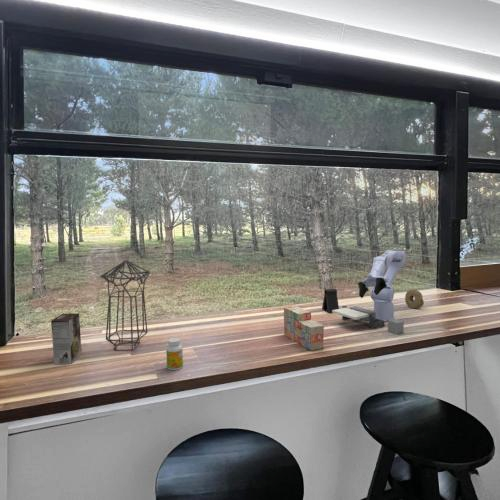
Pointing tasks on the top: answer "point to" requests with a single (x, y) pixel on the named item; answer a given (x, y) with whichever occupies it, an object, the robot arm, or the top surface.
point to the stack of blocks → (303, 328)
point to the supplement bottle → (174, 354)
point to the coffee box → (66, 338)
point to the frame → (372, 322)
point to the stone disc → (418, 299)
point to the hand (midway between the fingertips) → (368, 294)
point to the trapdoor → (355, 313)
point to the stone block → (395, 326)
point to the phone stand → (330, 300)
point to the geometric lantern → (122, 265)
